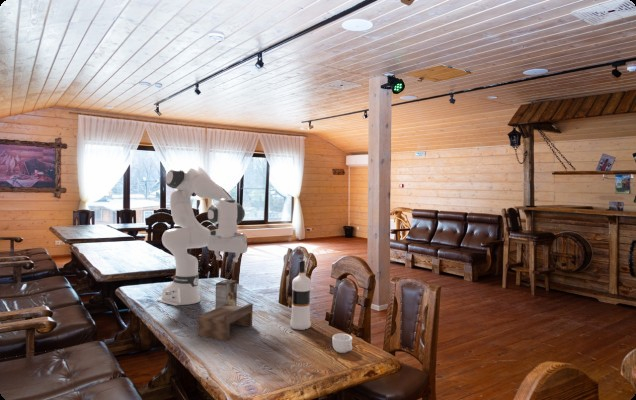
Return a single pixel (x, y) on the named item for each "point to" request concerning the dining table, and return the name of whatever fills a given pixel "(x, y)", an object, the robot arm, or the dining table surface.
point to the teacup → (342, 342)
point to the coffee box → (226, 293)
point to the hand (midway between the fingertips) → (227, 261)
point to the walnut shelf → (224, 320)
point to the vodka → (301, 300)
